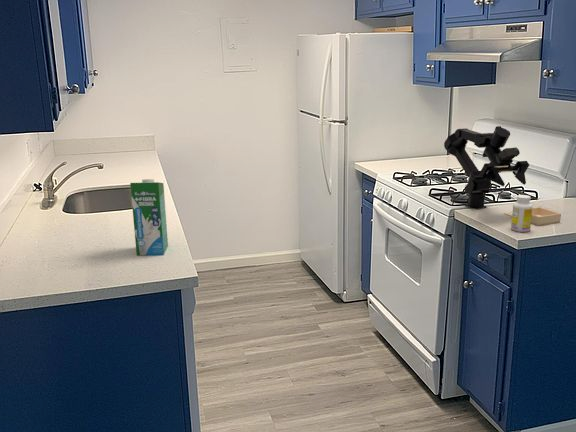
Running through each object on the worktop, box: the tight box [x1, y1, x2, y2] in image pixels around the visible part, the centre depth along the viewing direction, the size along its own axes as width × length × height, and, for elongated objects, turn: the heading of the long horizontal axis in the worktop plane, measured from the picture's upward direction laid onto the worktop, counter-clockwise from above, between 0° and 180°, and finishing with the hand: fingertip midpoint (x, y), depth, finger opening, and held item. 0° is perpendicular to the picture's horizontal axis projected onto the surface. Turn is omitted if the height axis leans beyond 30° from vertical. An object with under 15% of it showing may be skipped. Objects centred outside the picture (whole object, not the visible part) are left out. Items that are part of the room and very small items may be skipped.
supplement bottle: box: [510, 194, 533, 233], centre depth 215 cm, size 7×7×13 cm
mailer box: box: [503, 206, 562, 227], centre depth 231 cm, size 18×11×4 cm, turn 22°
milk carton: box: [129, 178, 169, 256], centre depth 196 cm, size 9×9×25 cm
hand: (514, 184), depth 220 cm, fingers open, 9 cm apart
